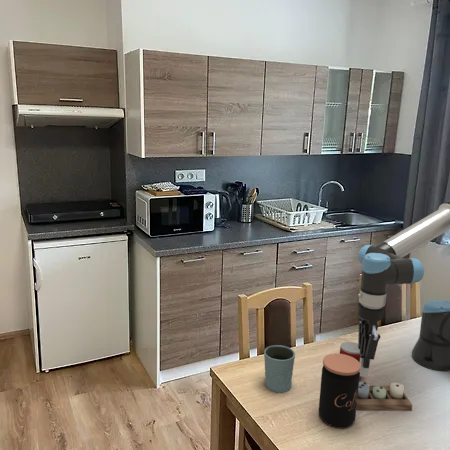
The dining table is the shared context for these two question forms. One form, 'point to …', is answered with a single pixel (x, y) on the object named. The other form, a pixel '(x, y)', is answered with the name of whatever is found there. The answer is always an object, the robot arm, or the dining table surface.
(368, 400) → the button board
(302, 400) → the dining table surface
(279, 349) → the teal cup
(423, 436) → the dining table surface
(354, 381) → the coffee jar
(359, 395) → the three-pip button
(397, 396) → the one-pip button
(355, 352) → the canned food
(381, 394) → the two-pip button
